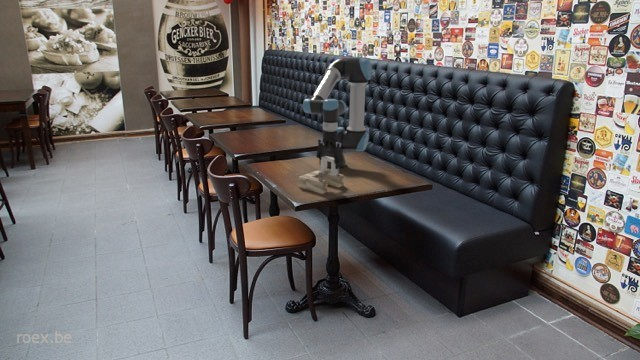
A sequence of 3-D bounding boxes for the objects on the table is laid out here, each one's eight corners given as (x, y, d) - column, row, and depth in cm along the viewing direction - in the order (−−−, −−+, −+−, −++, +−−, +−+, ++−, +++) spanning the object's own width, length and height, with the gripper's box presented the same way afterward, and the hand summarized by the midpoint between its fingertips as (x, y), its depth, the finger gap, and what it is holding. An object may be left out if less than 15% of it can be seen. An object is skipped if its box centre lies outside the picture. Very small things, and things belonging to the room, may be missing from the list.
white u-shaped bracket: (324, 171, 252) (325, 155, 249) (336, 174, 247) (337, 158, 244) (321, 172, 250) (321, 157, 247) (333, 175, 245) (333, 159, 242)
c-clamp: (320, 179, 265) (320, 161, 262) (343, 185, 256) (344, 167, 253) (298, 187, 252) (298, 168, 249) (322, 193, 242) (322, 174, 239)
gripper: (309, 128, 245) (309, 170, 252) (342, 134, 232) (340, 178, 239) (318, 126, 250) (318, 167, 257) (351, 131, 238) (349, 175, 245)
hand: (329, 173), depth 248 cm, fingers closed on white u-shaped bracket, 8 cm apart
